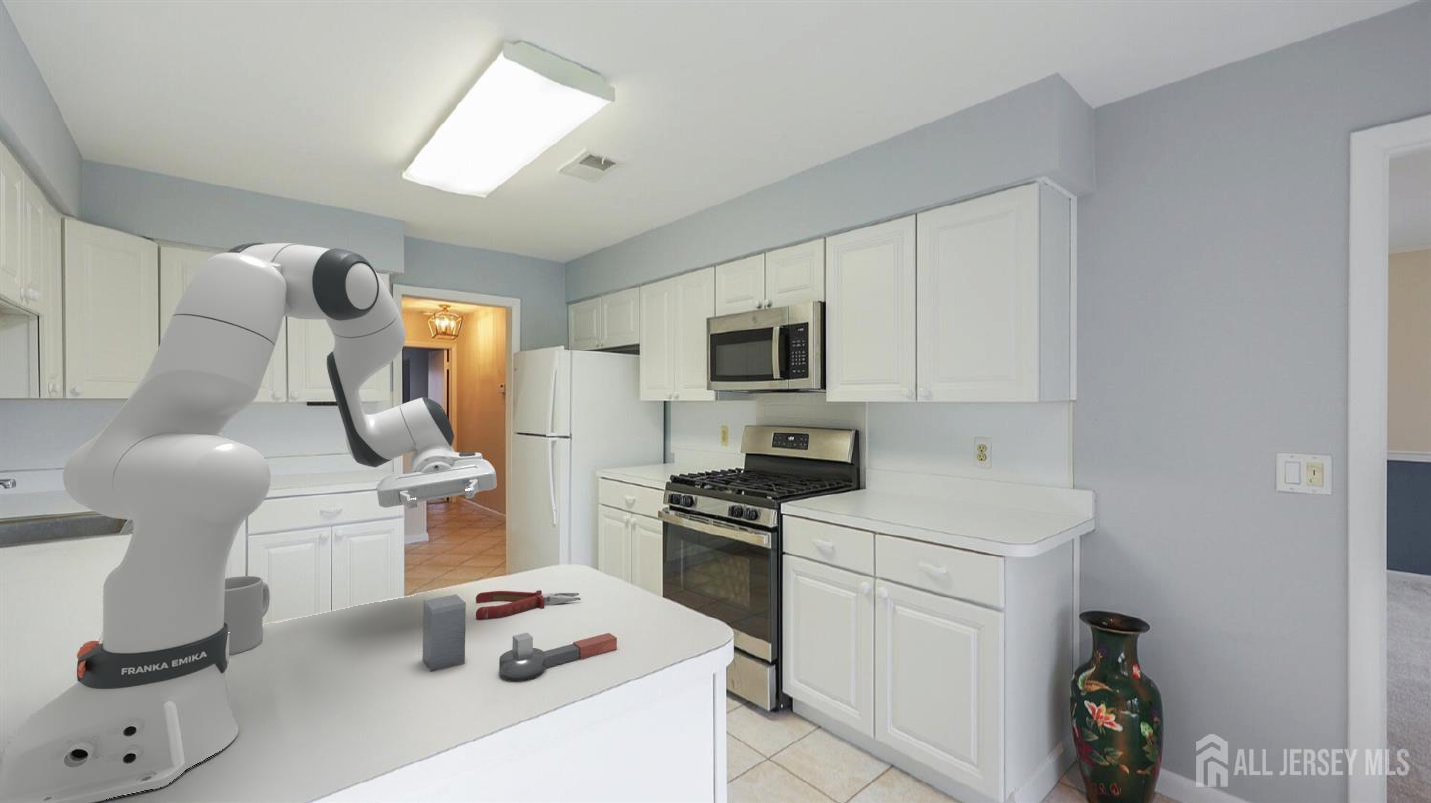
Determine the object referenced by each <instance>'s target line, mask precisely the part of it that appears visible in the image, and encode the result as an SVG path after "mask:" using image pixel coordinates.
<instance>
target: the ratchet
mask: <svg viewBox="0 0 1431 803" xmlns="http://www.w3.org/2000/svg"><path fill="white" fill-rule="evenodd" d="M533 645H534V637H533V636H532V635H531V634H530V633H529V632H524V633H519V634H516V635H515V634H514V635H512V645H511V646H512V647H511V648H512V649H511V650H508V651H506V652H504V653H502V654H501V655H500V657H499V659H498V660H499V662H498V666H499V667H498V668H499V669H498V675H499V677H500V678H501V679H502V680H504V681H507V682H525V681H530V680H534V679H537V678H538V677H540V676H542V675H543V674H544V673H545V670H546V669H548V668H551V667H555V666H559V665H562V664H563V665H564V664H566V663H570V662H574V661H577V660H582V659H583V660H584V659H586V658H591V657H594V656H597V655H602V654H604V653H607V652H611V651H615V650H617V648H618V637H616V636H615V635H613V634H611V632H607V633H603V634H599V635H596V636H592V637H588V638H583V639H579V640H576V641H573V642H572V644H568V645H564V646H559V647H556V648H551V649H548V650H545V651H544V650H542V649H541V648H537V647H536V648H535V647H534V646H533Z"/></svg>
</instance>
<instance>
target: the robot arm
mask: <svg viewBox="0 0 1431 803" xmlns="http://www.w3.org/2000/svg"><path fill="white" fill-rule="evenodd" d="M284 317H287V318H288V317H289V318H290V317H291V318H293V319H298V320H317V321H318V320H319V321H321V320H322V321H323V320H325V321H326V323H327V326H328V327H329V329H330V331H331V332H332V335H333V337H334V347H333V349H332V351H331V352H330V353H329V354H328V355H326V369H327V374H328V379H329V381H330V384H331V388H332V392H333V394H334V398H335V401H336V404H337V409H338V411H339V414H340V417H341V420H342V424H343V427H344V432H345V444H346V446H347V450H348V452H349V454H350V456H351V457H352V458H353V460H355V462H356V463H357V464H360V465H362V466H366V467H371V468H378V467H380V466H382V465H384V464H387V463H388V462H390V461H392V460H395V459H397V458H399V457H401V456H405V455H407V454H409V453H411V455H410V469H411V472H410V473H403V474H397V475H389V476H387V477H384V478H383V479H381V481H380V482H379V483H377V485H376V493H377V494H376V495H377V501H378V506H379V507H380V508H381V507H382V508H392V507H398V506H407V508H408V510H409V509H414V508H417V507H418V503H421V502H428V501H432V500H434V501H435V500H439V499H445V498H450V497H456V496H462V495H464V496H465V499H473V498H475V497H476V496H475V495H476V494H478V493H481V492H485V491H493V490H494V489H496V488H497V486H498V480H497V479H498V478H497V473H496V470H495V467H494V466H493V465H492V464H491V462H489V461H488V460H487V459H484V458H483V454H482V453H481V452H456V451H455V449H454V447H453V443H454V439H455V434H454V431H453V428H452V425H451V422H450V420H449V417H448V416H447V414H446V411H445V410H444V408H443V407H442V405H441V404H440V403H438V402H437V401H435V400H433V399H431V398H429V397H426V396H422V397H419V398H416V399H412V400H410V401H408V402H404V403H401V404H399V405H397V406H394V407H392V408H388V409H386V410H382V411H379V412H377V413H371V414H366V413H365V410H364V406H363V403H362V399H361V395H360V390H361V387H362V386H363V385H364V384H365V383H366V382H367V381H368V380H369V379H370V378H372V376H374V375H375V374H376V373H378V372H379V371H381V370H383V369H385V367H387V366H388V365H390V364H391V363H392V362H393V361H394V360H395V359H396V358H397V357H398V356H399V354H400V353H401V351H402V350H403V348H404V346H405V343H406V338H407V332H406V328H405V324H404V321H403V318H402V315H401V313H400V310H399V308H398V306H397V304H396V302H395V300H394V298H393V296H392V294H391V293H390V290H389V289H388V287H387V285H386V284H385V282H384V281H383V279H382V278H381V277H380V275H379V274H378V273H377V271H376V270H375V268H374V267H373V265H371V263H370V262H369V260H367V259H366V258H365V257H364V256H362V255H360V254H358V253H356V252H353V251H351V250H346V249H343V248H338V247H337V248H336V247H334V248H327V247H322V246H314V245H306V244H302V243H294V242H292V243H291V242H276V243H273V242H272V243H263V242H249V243H244V244H240V245H237V246H234V247H232V248H230V249H229V250H228V251H226V252H221V253H217V254H215V255H213V256H211V257H209V258H208V259H207V260H206V261H205V262H204V263H203V265H202V266H201V267H200V268H199V270H198V271H196V274H195V275H194V276H193V277H192V279H191V281H190V282H189V284H188V285H187V287H186V288H185V290H184V292H183V294H182V296H181V297H180V299H179V301H178V303H177V305H176V307H175V309H174V312H173V313H172V316H171V318H170V321H169V323H168V326H167V328H166V330H165V333H164V335H163V337H162V339H161V342H160V344H159V346H158V349H157V350H156V352H155V354H154V357H153V359H152V361H151V364H150V365H149V367H148V369H147V371H146V373H145V375H144V377H143V378H142V380H141V381H140V382H139V383H138V386H137V387H136V388H135V389H134V391H133V392H132V393H131V395H130V396H129V397H128V399H127V400H126V401H125V402H124V404H123V405H122V406H121V407H120V409H119V410H118V411H117V412H116V413H115V414H114V416H113V417H112V418H111V419H110V421H109V422H108V423H107V424H106V426H105V427H104V428H103V429H102V430H101V431H100V432H99V433H98V434H96V435H95V436H94V437H93V438H92V439H90V440H89V441H87V442H85V443H84V444H83V443H82V445H81V446H79V447H78V448H77V449H75V450H74V452H73V453H72V454H71V455H70V456H69V457H68V459H67V461H66V463H65V465H64V468H63V472H62V473H63V474H62V480H63V485H64V488H65V490H66V492H67V493H68V495H69V496H70V498H72V499H73V500H74V501H75V502H76V503H78V504H80V505H82V506H83V507H85V508H87V509H89V510H90V511H93V512H96V513H97V514H99V515H102V516H106V517H108V518H112V519H121V520H128V521H132V523H133V527H132V532H131V533H132V534H131V538H130V540H129V543H128V547H127V549H126V552H125V554H124V556H123V558H122V560H121V562H120V564H119V565H118V566H117V567H115V568H113V570H112V571H111V572H110V573H109V574H108V575H107V577H106V578H105V580H104V583H103V586H102V588H103V589H102V590H103V591H102V592H103V594H102V595H103V596H102V597H103V600H102V602H103V603H102V606H103V607H102V609H103V610H102V643H100V641H98V640H89V641H87V642H85V643H83V644H82V646H80V648H79V650H78V651H77V653H76V658H77V665H76V680H77V681H76V683H75V684H73V685H72V686H70V687H69V688H68V689H66V690H65V691H64V692H62V693H60V695H58V696H57V697H55V698H54V699H52V700H51V701H50V702H49V703H47V704H46V705H44V706H43V707H41V708H39V710H37V711H35V712H34V713H33V714H32V715H30V716H29V717H28V718H27V719H25V720H24V722H23V723H22V724H21V725H20V726H19V727H18V728H17V730H16V731H15V732H14V733H13V735H12V737H11V738H10V740H9V741H8V744H7V746H6V747H5V750H4V752H3V753H4V754H3V755H2V759H1V763H0V803H98V802H103V801H106V799H107V800H111V798H112V799H114V798H113V797H116V798H118V797H117V796H120V795H124V794H129V793H133V792H138V791H139V793H141V792H140V791H144V790H149V789H153V790H156V789H160V787H161V788H164V787H166V786H168V785H170V784H171V783H173V782H174V781H175V780H174V779H176V778H177V777H178V776H179V777H181V776H182V775H183V774H184V773H185V772H184V771H185V770H186V769H187V768H190V767H191V766H193V765H195V764H197V763H199V762H201V761H202V760H204V759H206V758H208V757H210V756H212V755H214V754H215V753H217V752H218V753H220V752H221V751H223V750H224V749H226V748H227V747H228V746H229V745H230V744H231V743H233V741H234V740H235V739H236V737H237V736H238V734H239V729H240V728H239V725H238V723H237V721H236V718H235V714H234V713H233V709H232V705H231V701H230V695H229V691H228V690H229V689H228V683H227V682H228V681H227V676H226V674H227V673H226V670H227V668H228V664H229V662H230V661H229V660H230V655H229V633H228V626H227V624H226V623H225V622H224V595H225V578H226V574H227V566H228V562H229V561H228V560H229V557H230V553H231V550H232V547H233V543H234V542H235V539H236V536H237V534H238V532H239V530H240V528H241V526H242V525H243V523H244V522H245V520H246V519H247V518H248V517H249V516H251V515H252V514H253V513H254V512H255V511H256V510H258V509H259V508H260V506H261V505H262V504H263V502H264V501H265V499H266V497H267V495H268V493H269V491H270V486H271V478H272V477H271V471H270V467H269V464H268V462H267V460H266V458H265V457H264V455H262V454H261V453H260V452H259V451H258V450H257V449H255V448H254V447H251V446H250V445H246V444H244V443H242V442H239V441H236V440H233V439H230V438H228V437H224V436H221V435H219V433H220V432H221V431H222V430H223V428H224V427H225V426H226V425H228V423H229V421H230V420H231V419H233V417H235V415H237V414H239V413H240V412H241V411H244V409H247V407H249V406H251V404H252V403H253V402H254V401H255V399H256V397H257V395H258V393H259V390H260V388H261V385H262V383H263V380H264V378H265V374H266V372H267V369H268V366H269V364H270V360H271V357H272V355H273V352H274V349H275V346H276V344H277V340H278V337H279V334H280V331H281V326H282V322H283V319H284ZM222 749H223V750H222ZM219 751H220V752H219ZM218 753H217V754H218ZM215 755H216V754H215ZM215 755H214V756H215ZM212 757H213V756H212ZM210 758H211V757H210ZM208 759H209V758H208ZM206 760H207V759H206ZM201 763H202V762H201ZM199 764H200V763H199ZM197 765H198V764H197ZM195 766H196V765H195ZM193 767H194V766H193ZM191 768H192V767H191ZM191 768H190V769H191ZM183 772H184V773H183ZM182 773H183V774H182ZM181 774H182V775H181ZM180 775H181V776H180ZM179 777H178V778H179ZM178 778H177V779H178ZM177 779H176V780H177ZM173 780H174V781H173ZM172 781H173V782H172ZM170 782H171V783H170ZM169 783H170V784H169ZM149 791H150V790H149ZM144 792H145V791H144ZM109 798H110V799H109Z"/></svg>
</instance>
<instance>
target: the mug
mask: <svg viewBox="0 0 1431 803" xmlns="http://www.w3.org/2000/svg"><path fill="white" fill-rule="evenodd" d="M269 588H270V587H269V585H268V584H267V583H266V582H265V581H264V580H263V578H262V577H260V576H255V575H254V576H253V575H244V576H243V575H242V576H233V577H232V576H231V577H225V595H224V622H225V623H226V624H227V626H228V632H230V633H229V656H231V655H235V654H240V653H243V652H247V651H249V650H252V649H253V648H256V647H258V646H259V645H261V643H262V641H263V639H264V638H263V636H264V634H263V630H264V629H263V626H262V625H264V624H263V620H264V619H263V618H264V617H265V616H266V614H267V613H268V610H269V608H270V599H271V597H270V596H271V595H270V594H271V592H270V589H269Z"/></svg>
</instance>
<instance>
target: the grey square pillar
mask: <svg viewBox="0 0 1431 803" xmlns="http://www.w3.org/2000/svg"><path fill="white" fill-rule="evenodd" d="M422 607H423V609H422V610H423V612H422V613H423V616H422V618H423V619H422V661H423V663H424V664H425V666H426V667H427V668H428V670H429V671H430V672H435V671H440V670H443V669H447V668H452V667H455V666H459V665H464V664H465V663H466V661H465V660H466V659H465V658H466V618H467V617H466V616H467V614H466V610H467V609H466V607H467V606H466V601H464V600H463V598H461V597H460V596H459V595H458V594H451V595H445V596H441V597H434V598H429V599H424V600H423V606H422Z"/></svg>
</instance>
